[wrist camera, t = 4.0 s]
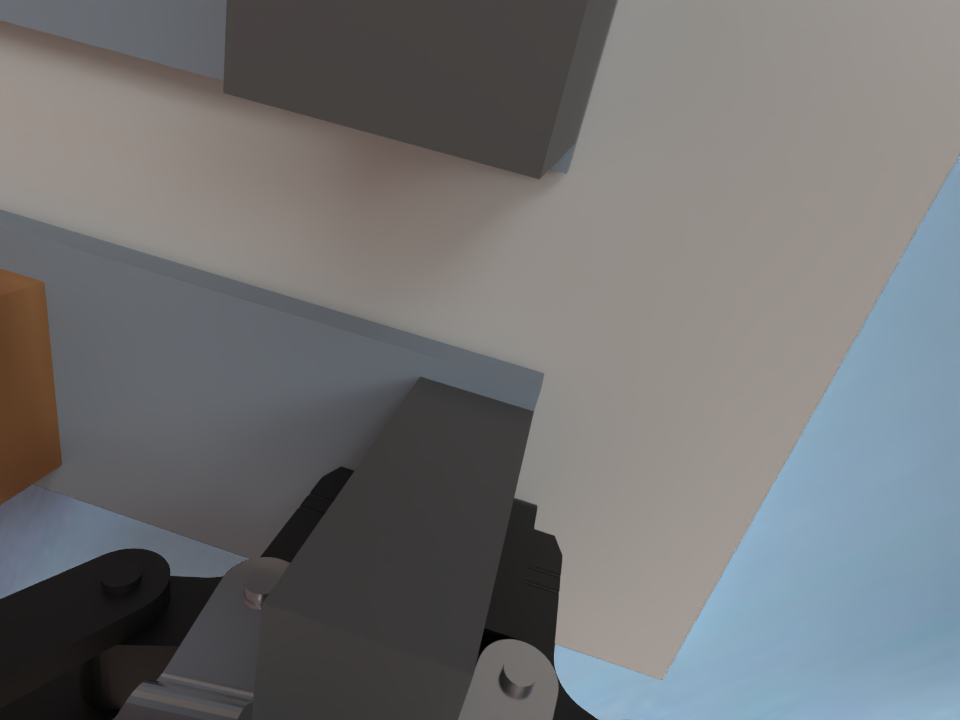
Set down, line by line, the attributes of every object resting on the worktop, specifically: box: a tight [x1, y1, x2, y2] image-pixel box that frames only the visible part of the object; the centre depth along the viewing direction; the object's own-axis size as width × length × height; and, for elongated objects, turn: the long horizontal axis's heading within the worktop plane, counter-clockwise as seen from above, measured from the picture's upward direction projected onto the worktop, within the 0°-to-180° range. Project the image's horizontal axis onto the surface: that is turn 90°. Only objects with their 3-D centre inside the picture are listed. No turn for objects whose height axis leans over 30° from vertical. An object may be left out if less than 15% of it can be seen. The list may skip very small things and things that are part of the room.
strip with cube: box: [0, 210, 545, 720], centre depth 11 cm, size 18×7×7 cm, turn 76°
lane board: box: [0, 0, 960, 680], centre depth 12 cm, size 24×19×1 cm
